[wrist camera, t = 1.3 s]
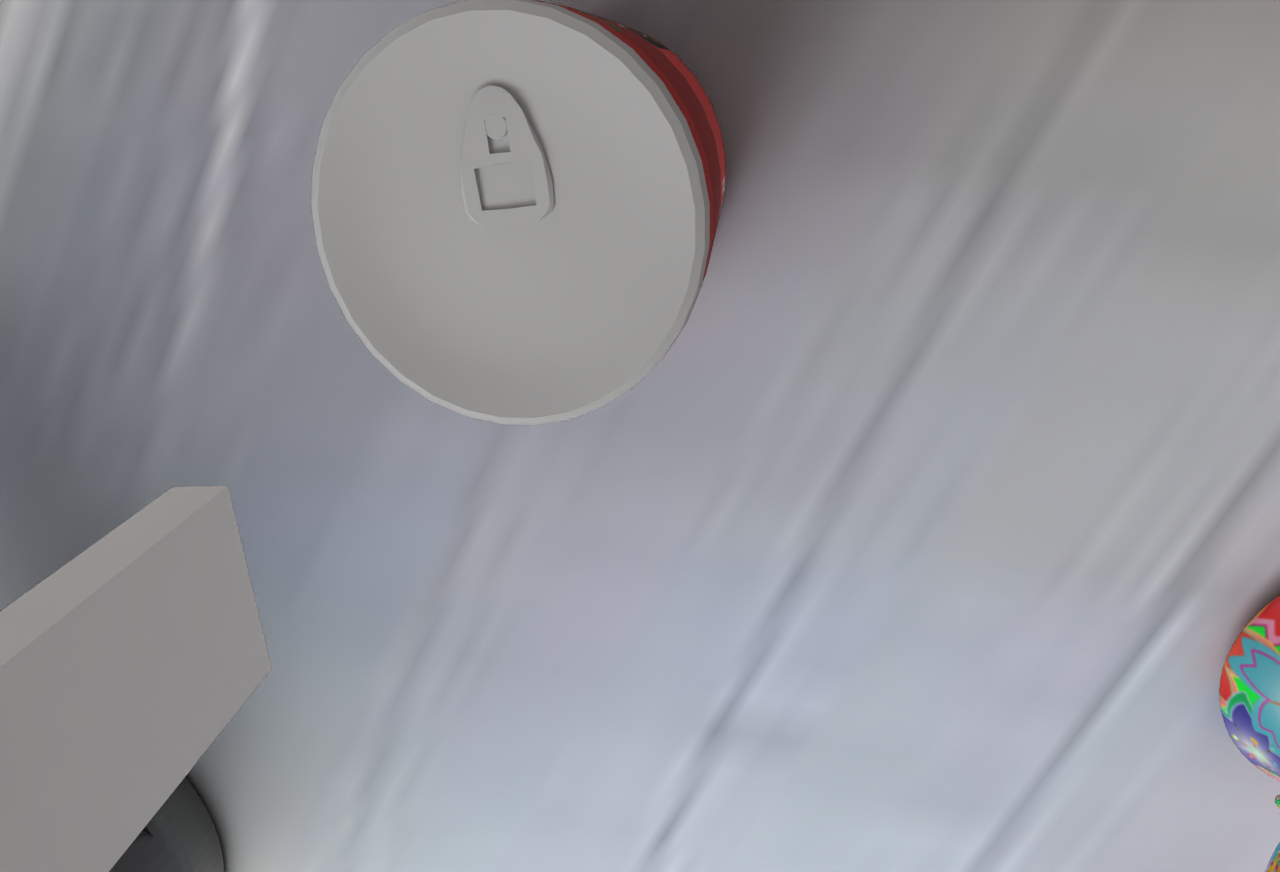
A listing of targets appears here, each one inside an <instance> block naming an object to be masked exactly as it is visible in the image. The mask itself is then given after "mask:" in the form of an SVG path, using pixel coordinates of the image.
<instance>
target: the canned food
mask: <svg viewBox="0 0 1280 872" xmlns="http://www.w3.org/2000/svg"><path fill="white" fill-rule="evenodd" d="M725 175H726V157H725V151H724V146H723V140H722V134H721V129H720V126H719V124H718V121H717V118H716V115H715V113H714V110H713V107H712V105H711V102H710V100H709V99H708V97H707V95H706V94H705V92H704V90H703V89H702V87H701V85H700V84H699V82H698V80H697V79H696V77H695V76H694V75H693V73H692V72H691V71H690V70H689V69H688V68H687V67H686V66H685V65H684V64H683V62H682V61H681V60H680V59H679V58H678V57H677V56H676V55H675V54H674V53H673V52H671V51H670V50H668V49H667V48H666V47H664V46H663V45H662V44H660V43H659V42H658V41H656V40H655V39H653V38H652V37H650V36H648V35H645V34H643V33H641V32H639V31H637V30H634V29H632V28H630V27H628V26H625V25H622V24H619V23H616V22H613V21H610V20H607V19H604V18H601V17H598V16H595V15H592V14H588V13H585V12H582V11H579V10H576V9H573V8H570V7H566V6H561V5H556V4H551V3H546V2H542V1H537V0H465V1H461V2H458V3H454V4H450V5H446V6H442V7H438V8H435V9H431V10H428V11H426V12H424V13H422V14H420V15H418V16H416V17H415V18H413V19H411V20H409V21H407V22H405V23H403V24H401V25H399V26H398V27H396V28H394V29H392V30H391V31H390V32H389V33H388V34H387V35H385V36H384V37H383V38H382V39H381V40H380V41H379V42H377V43H376V44H375V45H374V46H373V47H372V48H371V49H369V50H368V51H367V52H366V53H365V54H364V55H363V56H362V57H361V58H360V60H359V61H358V62H357V64H356V65H355V66H354V68H353V69H352V71H351V72H350V73H349V75H348V76H347V77H346V79H345V80H344V82H343V83H342V84H341V86H340V87H339V88H338V91H337V93H336V95H335V97H334V100H333V102H332V104H331V106H330V108H329V111H328V113H327V115H326V117H325V120H324V122H323V124H322V127H321V131H320V136H319V140H318V144H317V149H316V153H315V158H314V162H313V170H312V196H311V210H312V217H313V224H314V231H315V238H316V245H317V250H318V253H319V256H320V259H321V262H322V265H323V268H324V272H325V275H326V278H327V281H328V284H329V287H330V289H331V291H332V293H333V295H334V296H335V298H336V300H337V302H338V304H339V306H340V308H341V310H342V312H343V314H344V316H345V318H346V320H347V322H348V323H349V324H350V326H351V327H352V328H353V330H354V331H355V332H356V334H357V335H358V336H359V338H360V339H361V340H362V342H363V343H364V344H365V346H366V347H367V348H368V350H369V351H370V352H371V354H372V355H373V356H374V357H375V358H377V359H378V360H379V361H380V362H381V363H382V364H383V365H384V366H385V367H386V368H387V369H388V370H389V371H390V372H391V373H392V374H393V375H394V376H396V377H397V378H398V379H399V380H400V381H401V382H403V383H404V384H406V385H407V386H409V387H410V388H412V389H413V390H415V391H416V392H418V393H419V394H421V395H422V396H424V397H425V398H427V399H428V400H430V401H432V402H434V403H436V404H439V405H441V406H443V407H445V408H448V409H450V410H452V411H455V412H457V413H459V414H462V415H464V416H467V417H472V418H476V419H481V420H485V421H489V422H494V423H498V424H516V425H540V424H546V423H552V422H557V421H563V420H569V419H573V418H576V417H578V416H581V415H583V414H586V413H588V412H591V411H593V410H596V409H598V408H601V407H603V406H606V405H607V404H609V403H610V402H612V401H613V400H615V399H616V398H618V397H619V396H621V395H622V394H624V393H625V392H627V391H628V390H630V389H631V388H633V387H634V386H636V385H637V384H638V383H639V382H640V381H641V380H642V379H643V378H644V377H645V376H646V375H647V374H648V373H649V372H650V371H651V370H652V368H653V367H654V366H655V365H656V364H657V363H658V362H659V361H660V360H661V359H662V358H663V357H664V356H665V355H666V354H667V352H668V351H669V349H670V347H671V346H672V344H673V343H674V341H675V340H676V338H677V337H678V335H679V334H680V332H681V331H682V329H683V328H684V326H685V325H686V323H687V321H688V319H689V316H690V314H691V311H692V309H693V306H694V304H695V301H696V299H697V296H698V294H699V291H700V289H701V286H702V283H703V280H704V278H705V275H706V272H707V268H708V263H709V259H710V255H711V251H712V246H713V242H714V238H715V234H716V229H717V225H718V221H719V217H720V212H721V207H722V202H723V197H724V192H725Z"/></svg>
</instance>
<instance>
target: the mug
mask: <svg viewBox="0 0 1280 872" xmlns="http://www.w3.org/2000/svg"><path fill="white" fill-rule="evenodd" d="M1219 696H1220V707H1221V713H1222V716H1223V719H1224V723H1225V726H1226V728H1227V731H1228V733H1229V735H1230V737H1231V739H1232V740H1233V742H1234V744H1235V745H1236V746H1237V748H1238V749H1239V750H1240V752H1241V753H1242V754H1243V755H1244V756H1245V757H1246V758H1247V759H1248V760H1249V761H1250V762H1251V763H1253V764H1254V765H1255V766H1256V767H1258V768H1259V769H1260V770H1261V771H1263V772H1264V773H1266V774H1268V775H1269V776H1271V777H1272V778H1274V779H1276V780H1278V781H1280V595H1279V596H1278V597H1276V598H1275V599H1274V600H1272V601H1271V602H1270V603H1268V604H1267V605H1266V606H1265V607H1264V608H1263V609H1262V610H1260V611H1259V612H1258V613H1257V614H1256V615H1255V616H1254V617H1253V618H1252V620H1251V621H1250V622H1249V623H1248V624H1247V625H1246V626H1245V628H1244V629H1243V630H1242V632H1241V633H1240V634H1239V636H1238V638H1237V639H1236V641H1235V643H1234V644H1233V646H1232V648H1231V650H1230V652H1229V654H1228V656H1227V658H1226V661H1225V664H1224V667H1223V671H1222V675H1221V679H1220V689H1219ZM1275 803H1276V805H1277V806H1278V807H1279V808H1280V795H1277V796H1276V798H1275ZM1265 872H1280V842H1279V844H1278V846H1277V847H1276V849H1275V851H1274V853H1273V855H1272V857H1271V859H1270V861H1269V863H1268V865H1267V868H1266V870H1265Z"/></svg>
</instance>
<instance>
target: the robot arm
mask: <svg viewBox="0 0 1280 872" xmlns="http://www.w3.org/2000/svg"><path fill="white" fill-rule="evenodd" d="M271 669H272V667H271V663H270V658H269V654H268V650H267V646H266V642H265V638H264V633H263V629H262V625H261V621H260V617H259V613H258V608H257V604H256V600H255V596H254V592H253V588H252V583H251V579H250V575H249V571H248V567H247V563H246V558H245V554H244V550H243V546H242V542H241V538H240V533H239V529H238V525H237V521H236V517H235V513H234V508H233V504H232V500H231V496H230V492H229V488H228V486H194V487H172V488H170V489H169V490H168V491H166V492H165V493H164V494H162V495H161V496H159V497H158V498H157V499H155V500H154V501H152V502H151V503H150V504H148V505H147V506H146V507H144V508H143V509H141V510H140V511H139V512H137V513H136V514H134V515H133V516H132V517H130V518H129V519H128V520H126V521H125V522H123V523H122V524H121V525H119V526H118V527H116V528H115V529H114V530H112V531H111V532H110V533H108V534H107V535H105V536H104V537H103V538H101V539H100V540H98V541H97V542H96V543H94V544H93V545H92V546H90V547H89V548H87V549H86V550H85V551H83V552H82V553H80V554H79V555H78V556H76V557H75V558H74V559H72V560H71V561H69V562H68V563H67V564H65V565H64V566H62V567H61V568H60V569H58V570H57V571H56V572H54V573H53V574H51V575H50V576H49V577H47V578H46V579H44V580H43V581H42V582H40V583H39V584H38V585H36V586H35V587H33V588H32V589H31V590H29V591H28V592H26V593H25V594H24V595H22V596H21V597H20V598H18V599H17V600H15V601H14V602H13V603H11V604H10V605H8V606H7V607H6V608H4V609H3V610H2V611H0V872H224V863H223V855H222V850H221V845H220V841H219V838H218V834H217V832H216V829H215V826H214V824H213V821H212V819H211V817H210V815H209V813H208V811H207V809H206V807H205V805H204V803H203V802H202V800H201V798H200V797H199V795H198V794H197V792H196V790H195V789H194V788H193V786H192V785H191V784H190V782H189V781H188V779H187V778H186V777H185V776H186V775H187V774H188V773H189V771H190V770H191V769H192V768H193V766H194V765H195V764H196V763H197V761H198V760H199V759H200V758H201V756H202V755H203V754H204V753H205V751H206V750H207V749H208V748H209V746H210V745H211V744H212V743H213V742H214V740H215V739H216V738H217V737H218V735H219V734H220V733H221V732H222V730H223V729H224V728H225V727H226V725H227V724H228V723H229V722H230V720H231V719H232V718H233V717H234V715H235V714H236V713H237V712H238V710H239V709H240V708H241V707H242V705H243V704H244V703H245V702H246V700H247V699H248V698H249V697H250V695H251V694H252V693H253V692H254V690H255V689H256V688H257V687H258V685H259V684H260V683H261V682H262V680H263V679H264V678H265V677H266V676H267V674H268V673H269V672H270V671H271Z"/></svg>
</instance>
